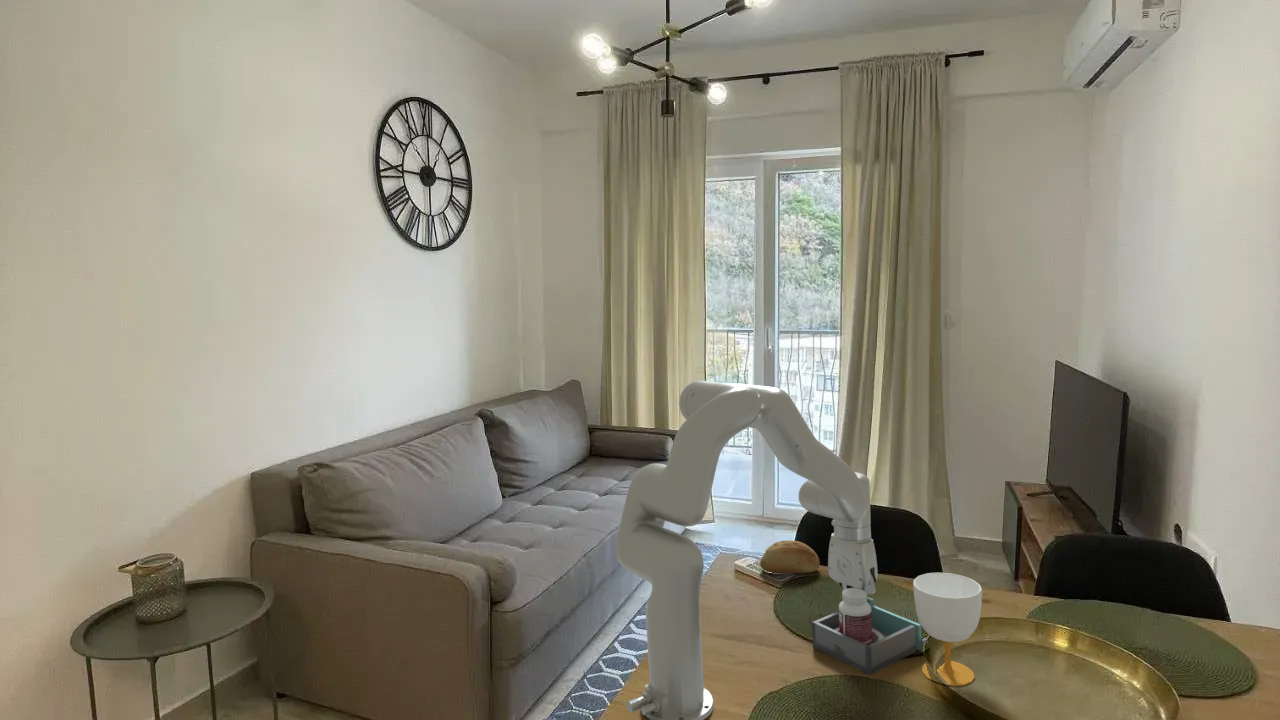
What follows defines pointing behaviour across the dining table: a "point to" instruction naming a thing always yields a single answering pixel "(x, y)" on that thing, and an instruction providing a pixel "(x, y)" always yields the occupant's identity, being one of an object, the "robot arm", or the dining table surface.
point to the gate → (892, 622)
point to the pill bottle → (855, 615)
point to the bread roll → (789, 558)
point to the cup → (948, 617)
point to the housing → (863, 645)
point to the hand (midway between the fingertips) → (854, 613)
